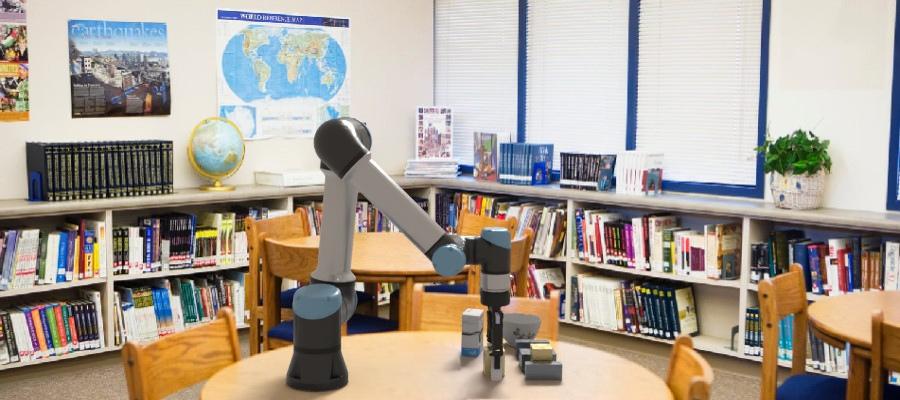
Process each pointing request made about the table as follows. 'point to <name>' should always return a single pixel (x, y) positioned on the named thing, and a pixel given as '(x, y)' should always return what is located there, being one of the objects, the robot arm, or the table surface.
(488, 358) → the tan square-edged block
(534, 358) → the wooden cube
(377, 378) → the table surface
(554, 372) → the rail
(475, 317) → the ink box
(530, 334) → the teacup
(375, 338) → the table surface
